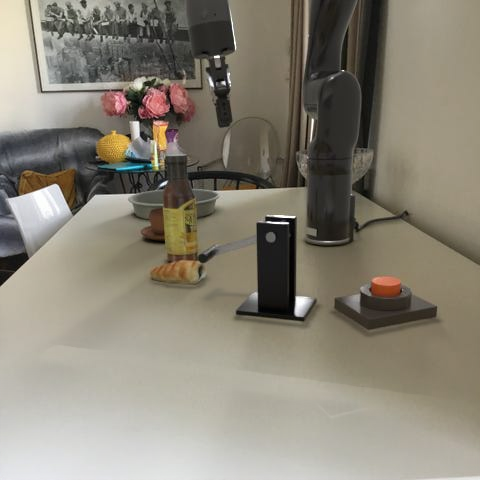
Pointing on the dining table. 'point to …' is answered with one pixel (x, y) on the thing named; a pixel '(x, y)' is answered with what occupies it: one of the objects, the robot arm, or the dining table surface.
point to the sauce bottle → (179, 211)
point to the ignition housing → (384, 308)
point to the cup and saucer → (155, 225)
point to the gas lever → (227, 247)
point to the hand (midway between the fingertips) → (225, 125)
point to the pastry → (179, 272)
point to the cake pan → (155, 200)
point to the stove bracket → (277, 273)
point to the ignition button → (385, 286)
